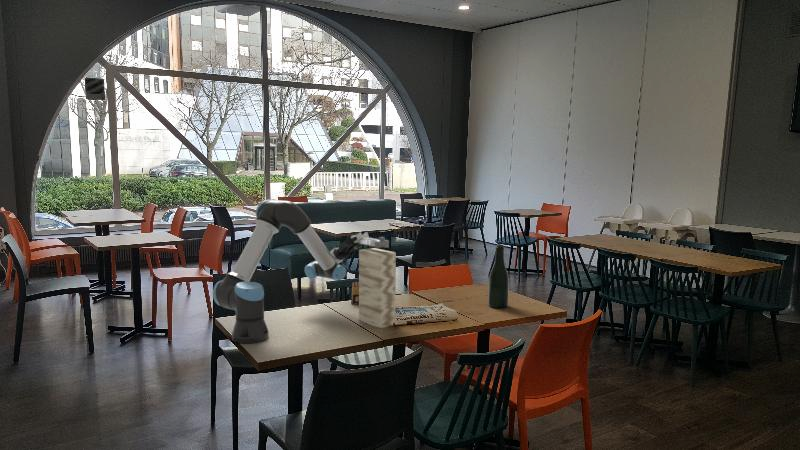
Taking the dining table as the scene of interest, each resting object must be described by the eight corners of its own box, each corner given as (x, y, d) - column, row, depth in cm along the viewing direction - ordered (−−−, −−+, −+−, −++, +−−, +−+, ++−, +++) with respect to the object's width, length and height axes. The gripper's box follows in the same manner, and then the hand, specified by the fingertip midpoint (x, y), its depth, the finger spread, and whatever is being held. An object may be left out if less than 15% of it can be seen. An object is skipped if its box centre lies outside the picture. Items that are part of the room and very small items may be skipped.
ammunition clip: (352, 304, 293) (352, 282, 292) (350, 303, 295) (350, 281, 294) (370, 302, 299) (370, 280, 297) (368, 301, 300) (368, 279, 299)
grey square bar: (380, 248, 250) (380, 238, 250) (348, 242, 269) (348, 232, 269) (391, 247, 254) (391, 237, 254) (358, 241, 273) (358, 231, 273)
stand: (380, 328, 252) (380, 254, 248) (358, 320, 264) (359, 249, 260) (395, 324, 258) (395, 252, 254) (373, 317, 270) (374, 248, 266)
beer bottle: (509, 309, 287) (511, 246, 283) (489, 308, 287) (491, 245, 283) (506, 303, 297) (508, 243, 294) (486, 303, 298) (488, 242, 294)
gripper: (324, 247, 276) (348, 228, 260) (350, 245, 287) (375, 226, 270) (328, 261, 274) (352, 243, 258) (354, 258, 285) (379, 240, 268)
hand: (364, 234), depth 264 cm, fingers closed on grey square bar, 3 cm apart
